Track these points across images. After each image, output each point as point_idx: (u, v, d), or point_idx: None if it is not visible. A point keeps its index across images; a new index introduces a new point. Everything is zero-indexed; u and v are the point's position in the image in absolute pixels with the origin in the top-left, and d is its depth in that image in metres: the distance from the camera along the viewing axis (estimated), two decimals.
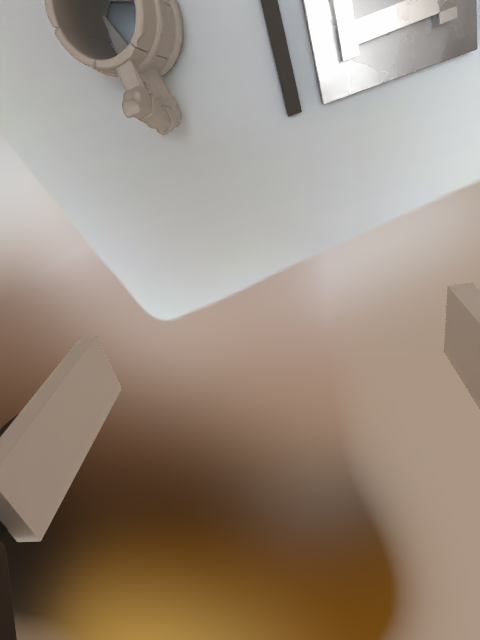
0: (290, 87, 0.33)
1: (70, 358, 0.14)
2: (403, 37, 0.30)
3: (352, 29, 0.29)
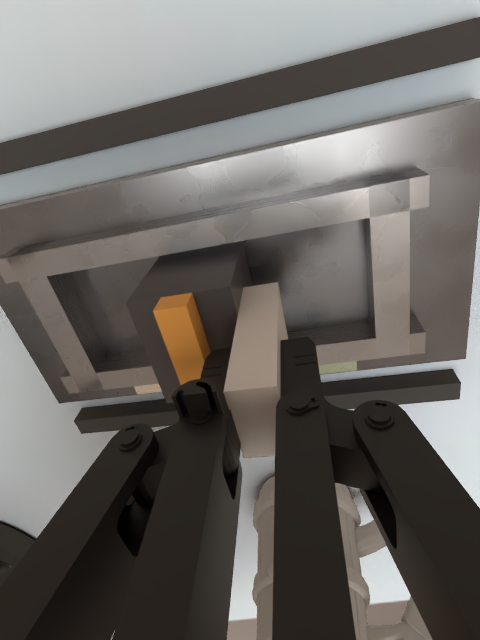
0: (421, 393, 0.22)
1: (248, 301, 0.15)
2: (414, 245, 0.17)
3: (386, 340, 0.18)
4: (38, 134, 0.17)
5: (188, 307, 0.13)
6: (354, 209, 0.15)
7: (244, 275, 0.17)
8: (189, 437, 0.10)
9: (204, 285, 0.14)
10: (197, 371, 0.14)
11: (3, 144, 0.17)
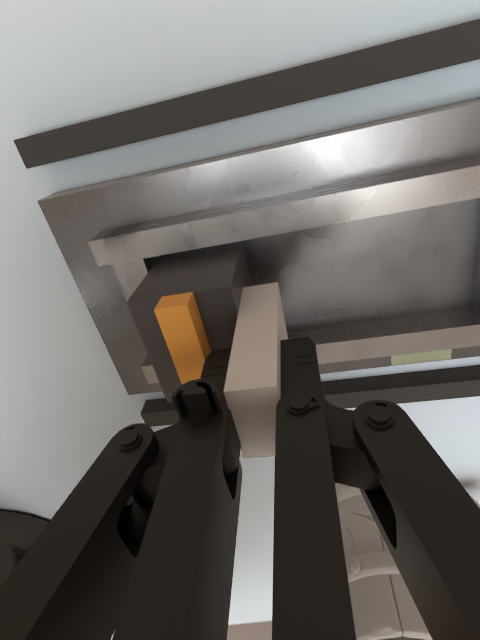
0: None
1: (248, 301, 0.15)
2: None
3: None
4: (143, 107, 0.16)
5: (189, 306, 0.13)
6: None
7: (244, 275, 0.17)
8: (189, 437, 0.10)
9: (205, 285, 0.14)
10: (197, 370, 0.14)
11: (104, 118, 0.16)
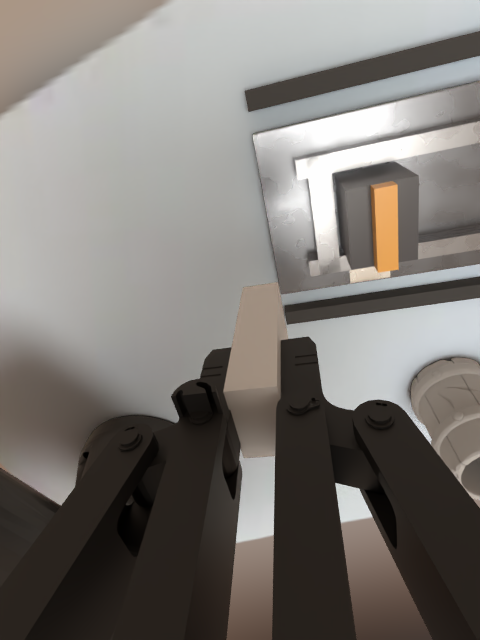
0: None
1: (248, 301, 0.15)
2: None
3: None
4: (343, 66, 0.23)
5: (396, 186, 0.21)
6: None
7: None
8: (189, 437, 0.10)
9: (398, 178, 0.22)
10: (391, 234, 0.22)
11: (313, 74, 0.24)
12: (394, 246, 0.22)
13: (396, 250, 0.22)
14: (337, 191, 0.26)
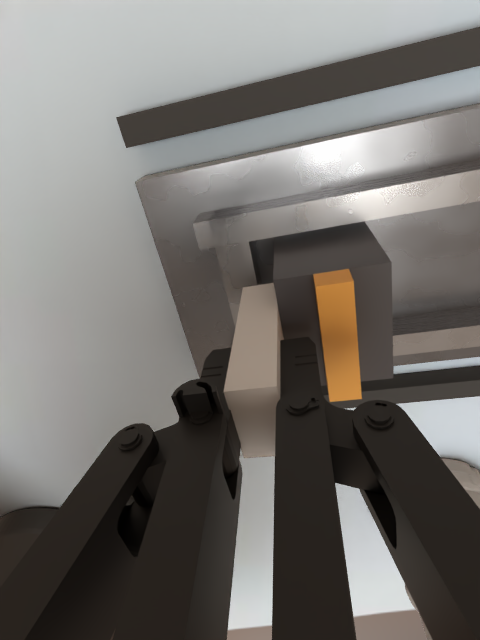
0: None
1: (248, 301, 0.15)
2: None
3: None
4: (259, 83, 0.15)
5: None
6: None
7: None
8: (189, 437, 0.10)
9: (358, 262, 0.13)
10: (347, 352, 0.14)
11: (215, 95, 0.15)
12: (353, 368, 0.14)
13: (357, 373, 0.14)
14: None
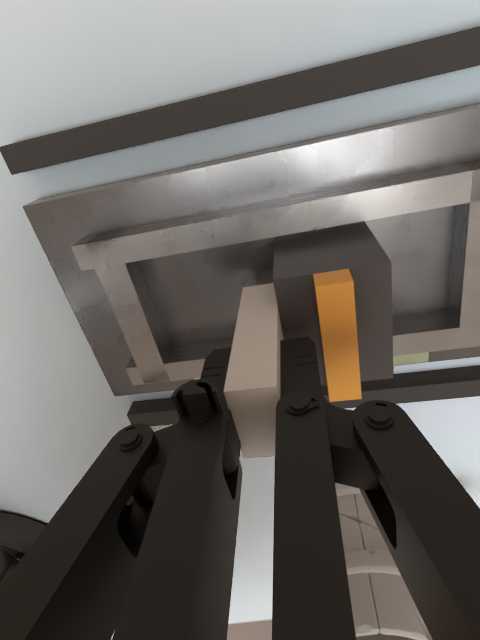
0: None
1: (248, 301, 0.15)
2: None
3: (470, 330, 0.18)
4: (124, 116, 0.16)
5: None
6: (455, 193, 0.15)
7: None
8: (189, 437, 0.10)
9: (358, 262, 0.13)
10: (347, 352, 0.14)
11: (86, 127, 0.17)
12: (353, 368, 0.14)
13: (357, 373, 0.14)
14: None
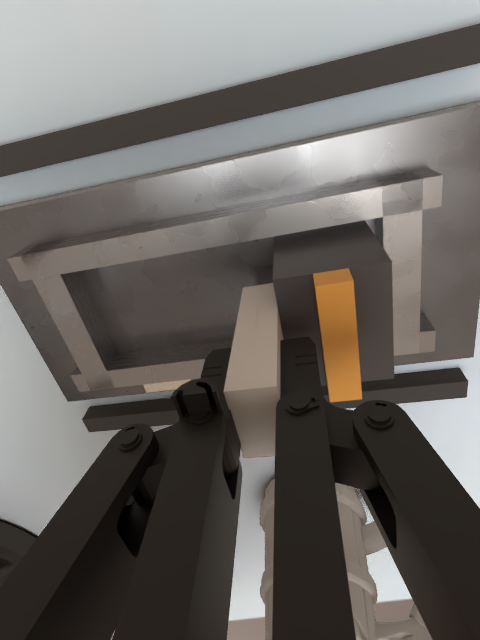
0: (428, 391, 0.22)
1: (248, 301, 0.15)
2: (425, 244, 0.17)
3: (396, 338, 0.18)
4: (53, 133, 0.17)
5: None
6: (367, 208, 0.15)
7: None
8: (189, 437, 0.10)
9: (358, 261, 0.13)
10: (347, 352, 0.13)
11: (18, 143, 0.17)
12: (353, 368, 0.14)
13: (357, 374, 0.14)
14: None
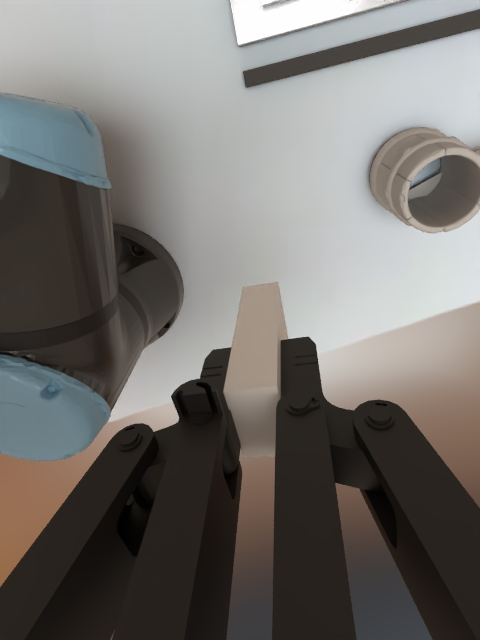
0: None
1: (248, 301, 0.15)
2: None
3: None
4: None
5: None
6: None
7: None
8: (189, 437, 0.10)
9: None
10: None
11: None
12: None
13: None
14: None
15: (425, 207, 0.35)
